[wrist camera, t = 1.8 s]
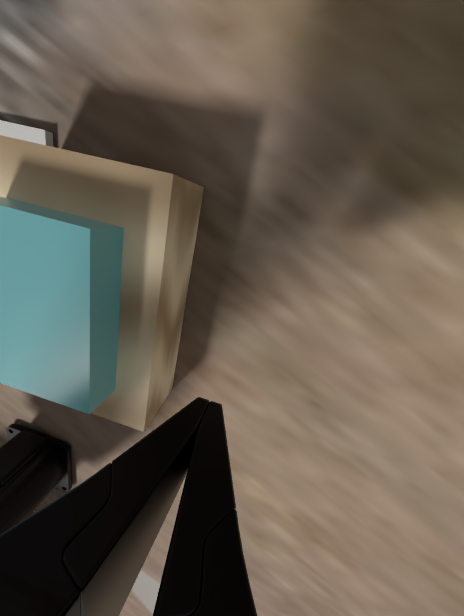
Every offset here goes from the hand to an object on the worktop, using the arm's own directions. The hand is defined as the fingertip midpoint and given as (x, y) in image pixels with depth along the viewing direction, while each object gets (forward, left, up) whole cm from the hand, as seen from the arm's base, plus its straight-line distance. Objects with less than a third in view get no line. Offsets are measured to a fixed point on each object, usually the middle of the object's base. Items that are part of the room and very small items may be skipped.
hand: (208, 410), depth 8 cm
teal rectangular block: (0, +9, -4) cm, 10 cm away
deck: (0, +8, -8) cm, 11 cm away
